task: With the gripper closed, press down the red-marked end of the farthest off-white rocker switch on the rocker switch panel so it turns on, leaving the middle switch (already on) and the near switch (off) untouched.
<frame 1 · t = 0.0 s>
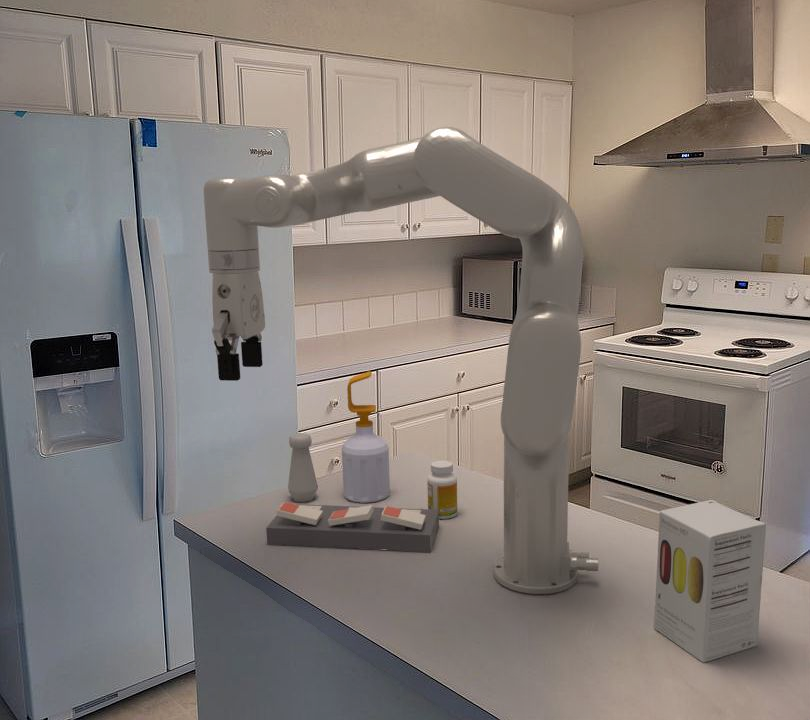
hand: (241, 373, 125), 31 cm above the worktop, tool pointing down, fingers open, 9 cm apart
soap bottle: (366, 496, 160), on the worktop
rocker near: (403, 517, 136), point 5 cm above the worktop, hinge at -12.0°
rocker middle: (350, 515, 138), point 5 cm above the worktop, hinge at 12.0°
rocker far: (299, 512, 139), point 5 cm above the worktop, hinge at -12.0°
supplement bottle: (442, 515, 149), on the worktop
salt shaker: (303, 499, 159), on the worktop
supplement box: (704, 638, 106), on the worktop
rocker switch panel: (354, 534, 141), on the worktop
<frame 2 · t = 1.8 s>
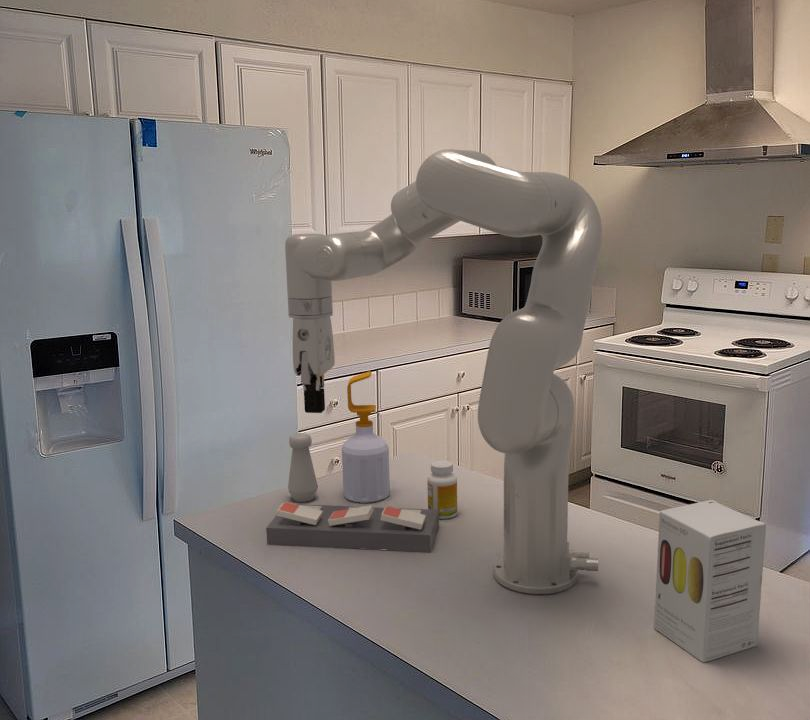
hand: (315, 411, 142), 21 cm above the worktop, tool pointing down, fingers closed
nothing on the worktop moved.
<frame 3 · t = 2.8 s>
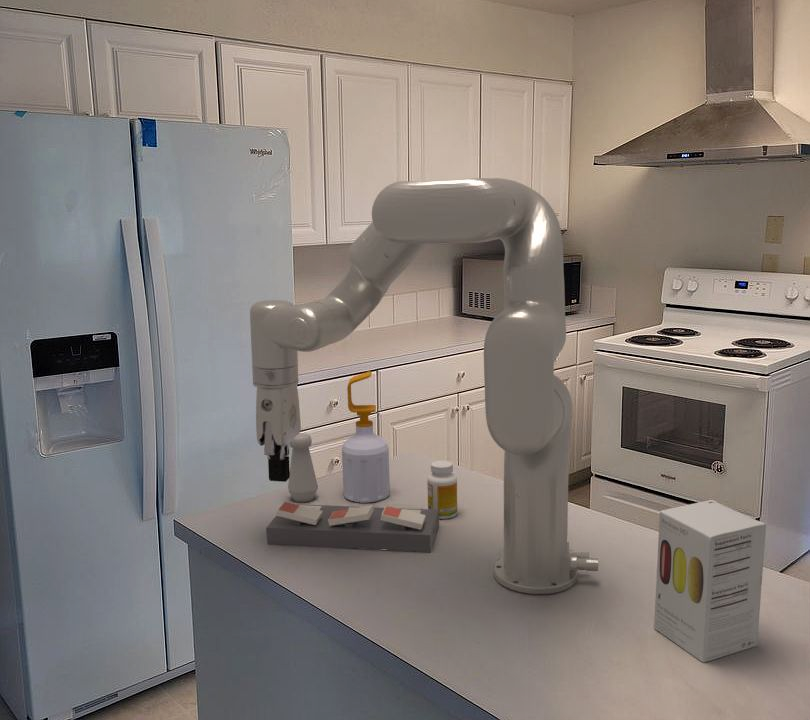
hand: (279, 479, 139), 10 cm above the worktop, tool pointing down, fingers closed
nothing on the worktop moved.
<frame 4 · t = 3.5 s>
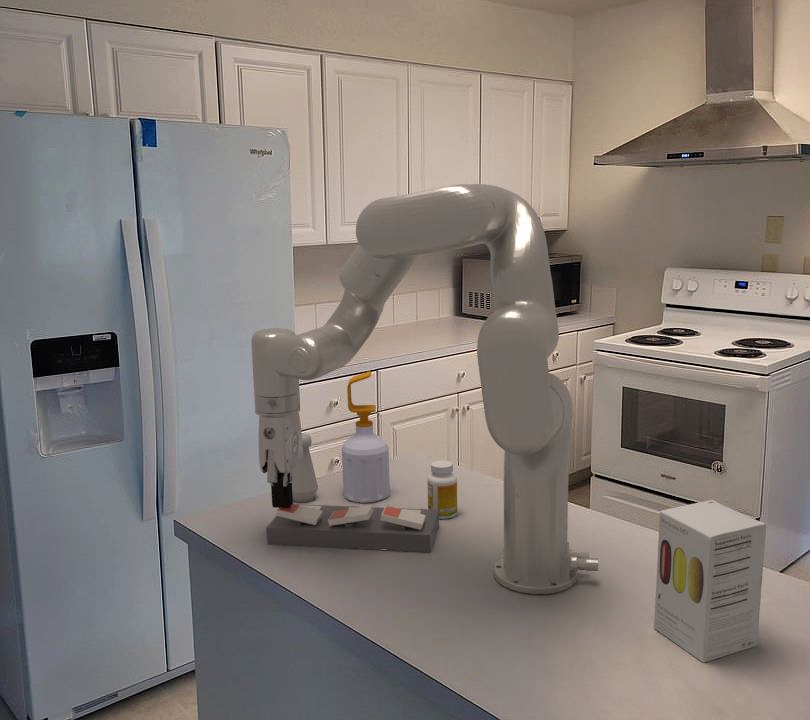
hand: (282, 505, 140), 6 cm above the worktop, tool pointing down, fingers closed
rocker far: (299, 512, 139), point 5 cm above the worktop, hinge at -12.0°, touching gripper
everything else where it was.
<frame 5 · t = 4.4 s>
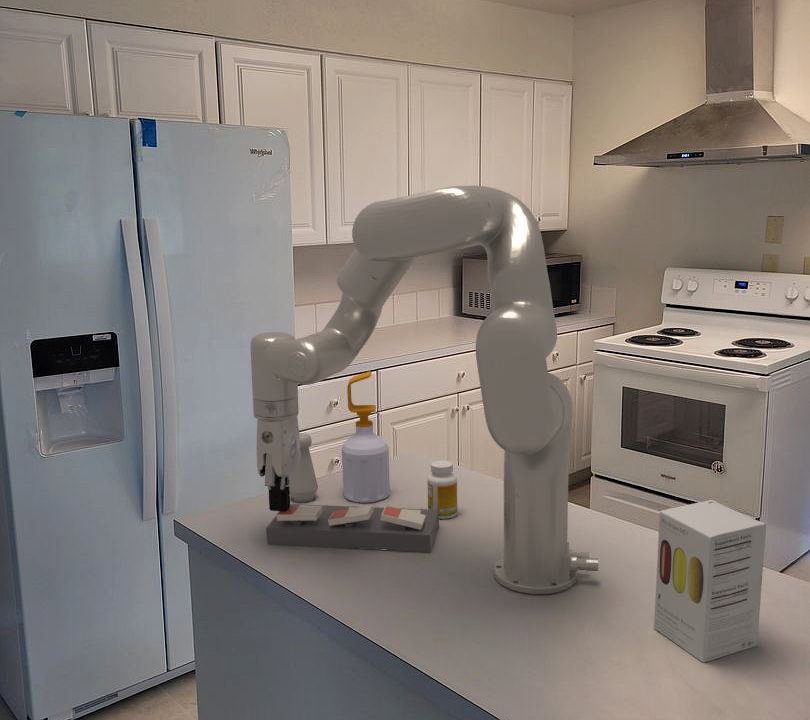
hand: (279, 509, 140), 5 cm above the worktop, tool pointing down, fingers closed
rocker far: (299, 512, 139), point 5 cm above the worktop, hinge at 2.9°, touching gripper
everything else where it was.
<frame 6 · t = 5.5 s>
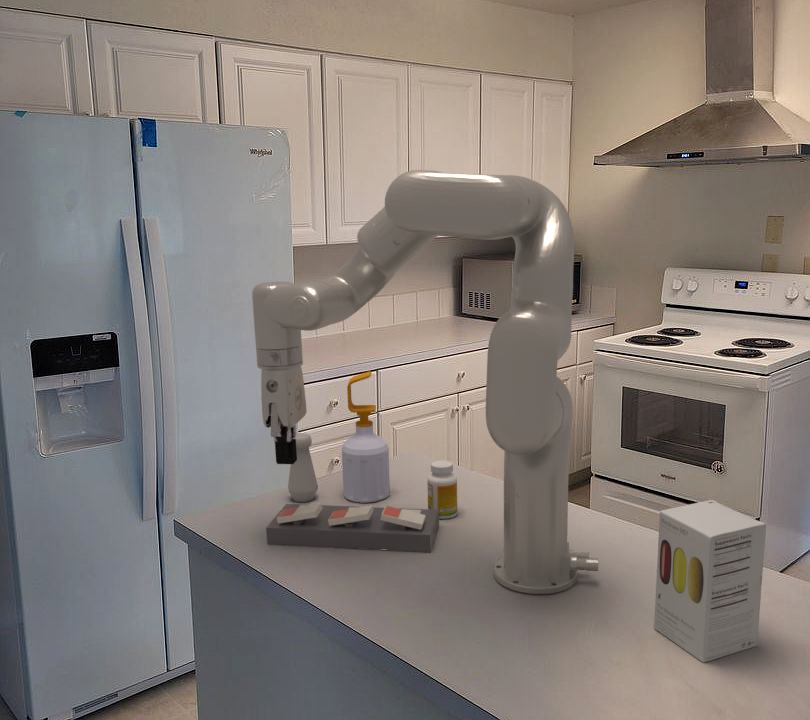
hand: (286, 462, 138), 13 cm above the worktop, tool pointing down, fingers closed
rocker far: (299, 512, 139), point 5 cm above the worktop, hinge at 12.0°
everything else where it was.
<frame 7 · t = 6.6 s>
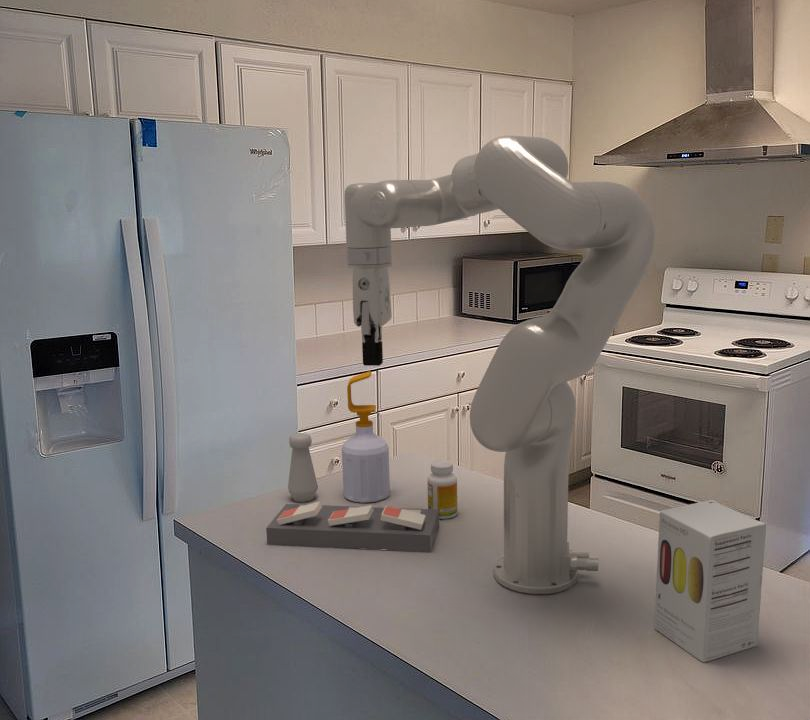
hand: (373, 364, 140), 29 cm above the worktop, tool pointing down, fingers closed
rocker far: (299, 512, 139), point 5 cm above the worktop, hinge at 16.9°
everything else where it was.
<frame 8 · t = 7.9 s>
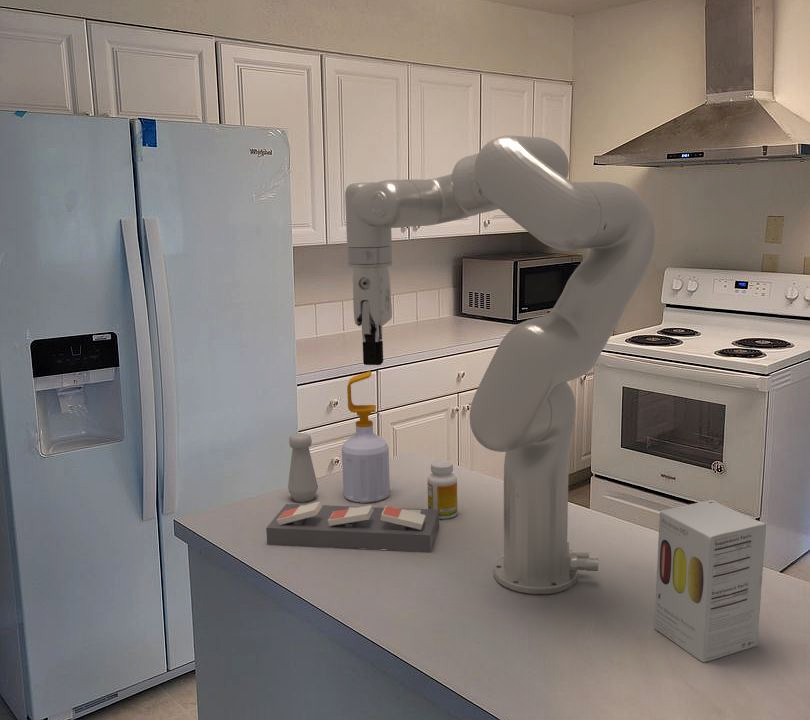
hand: (373, 363, 140), 29 cm above the worktop, tool pointing down, fingers closed
rocker far: (299, 512, 139), point 5 cm above the worktop, hinge at 17.1°, touching rocker switch panel
everything else where it was.
at the end: rocker far at +17° (first picture: -12°); rocker middle at +12° (first picture: +12°); rocker near at -12° (first picture: -12°) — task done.
